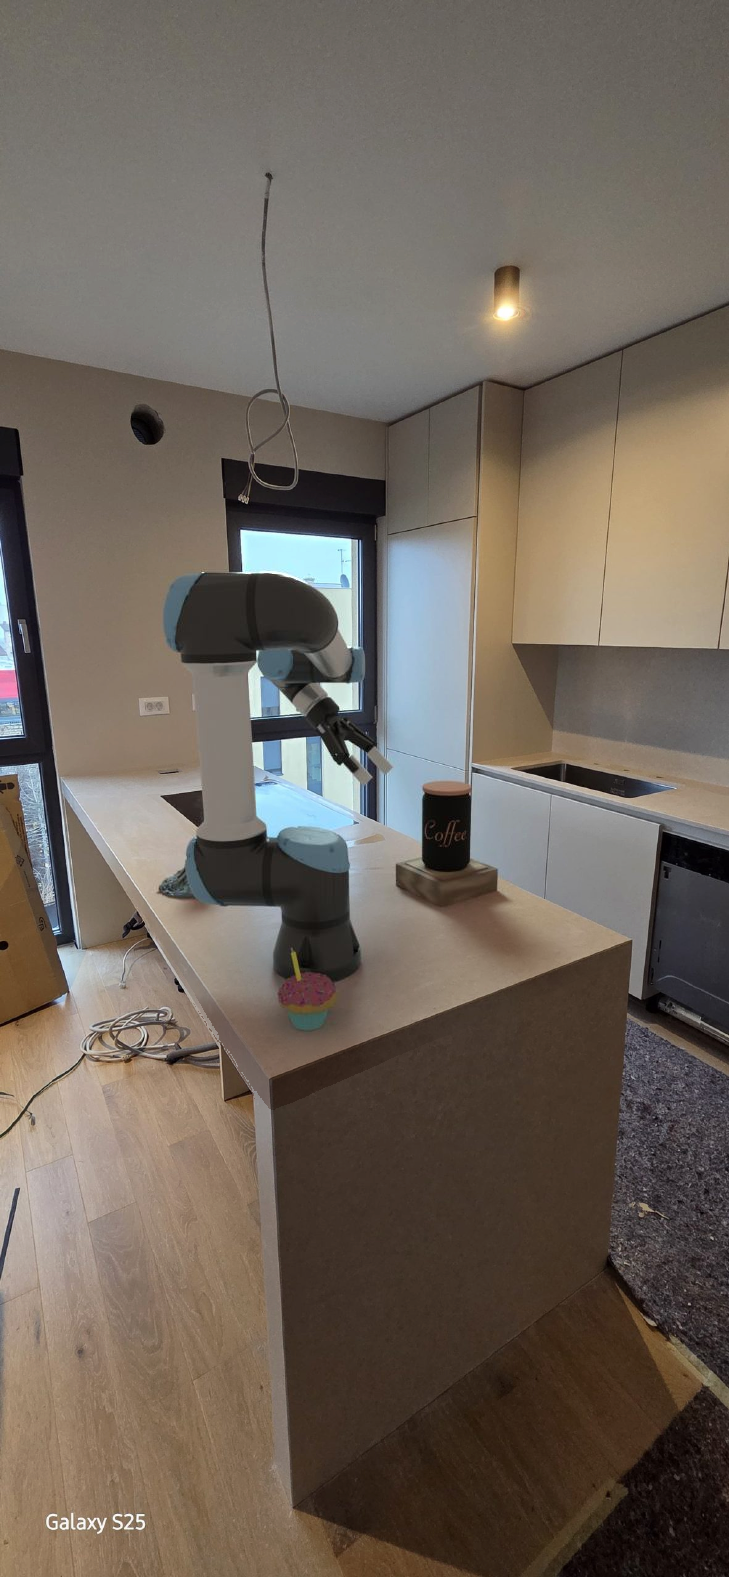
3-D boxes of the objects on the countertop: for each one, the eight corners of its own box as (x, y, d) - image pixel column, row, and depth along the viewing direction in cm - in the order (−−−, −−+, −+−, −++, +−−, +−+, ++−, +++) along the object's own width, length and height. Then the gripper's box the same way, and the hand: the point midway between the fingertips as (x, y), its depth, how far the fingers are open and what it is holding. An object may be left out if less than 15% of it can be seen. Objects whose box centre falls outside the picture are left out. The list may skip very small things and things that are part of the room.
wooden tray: (497, 890, 145) (497, 867, 144) (441, 906, 137) (441, 882, 136) (449, 870, 158) (449, 849, 157) (395, 884, 150) (395, 862, 149)
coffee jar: (417, 870, 143) (417, 790, 139) (427, 855, 153) (427, 779, 149) (466, 875, 140) (467, 792, 136) (473, 859, 150) (474, 782, 146)
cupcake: (283, 1042, 91) (280, 963, 89) (275, 1010, 99) (271, 937, 97) (343, 1032, 94) (342, 954, 91) (330, 1001, 102) (328, 929, 99)
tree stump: (149, 881, 156) (161, 806, 155) (230, 884, 166) (241, 815, 165) (167, 903, 140) (180, 820, 139) (255, 905, 150) (268, 828, 149)
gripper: (329, 713, 162) (386, 777, 160) (280, 723, 139) (346, 798, 137) (348, 692, 159) (407, 756, 157) (302, 699, 136) (369, 774, 134)
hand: (379, 776), depth 147 cm, fingers open, 13 cm apart
